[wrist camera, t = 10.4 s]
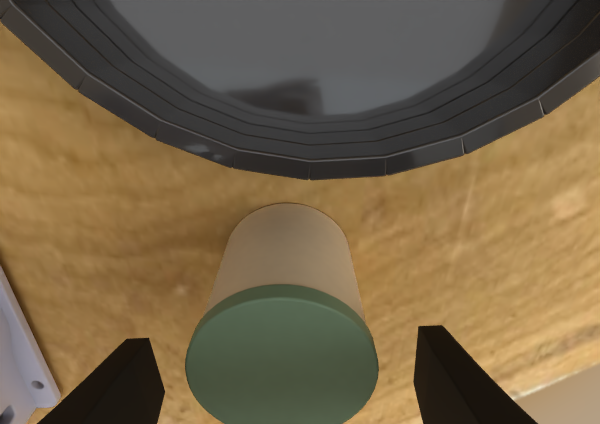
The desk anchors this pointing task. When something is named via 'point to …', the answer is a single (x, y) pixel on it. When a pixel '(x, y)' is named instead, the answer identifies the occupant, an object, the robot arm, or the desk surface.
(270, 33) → the pan
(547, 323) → the desk surface
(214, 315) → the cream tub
